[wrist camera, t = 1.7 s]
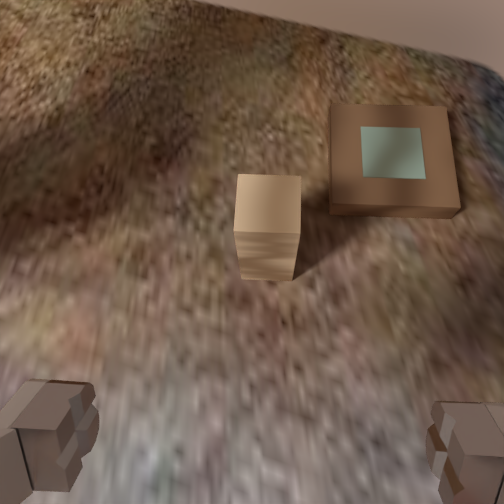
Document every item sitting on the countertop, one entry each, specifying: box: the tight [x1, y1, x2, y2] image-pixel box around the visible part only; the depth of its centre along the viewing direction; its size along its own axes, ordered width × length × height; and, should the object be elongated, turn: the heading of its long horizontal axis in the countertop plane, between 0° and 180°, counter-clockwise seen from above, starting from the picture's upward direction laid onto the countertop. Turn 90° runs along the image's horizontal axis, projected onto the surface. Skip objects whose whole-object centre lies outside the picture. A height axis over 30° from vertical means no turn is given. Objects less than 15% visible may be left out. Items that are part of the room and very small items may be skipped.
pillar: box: [234, 174, 301, 281], centre depth 31 cm, size 4×4×9 cm
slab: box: [328, 104, 461, 219], centre depth 37 cm, size 10×10×3 cm
